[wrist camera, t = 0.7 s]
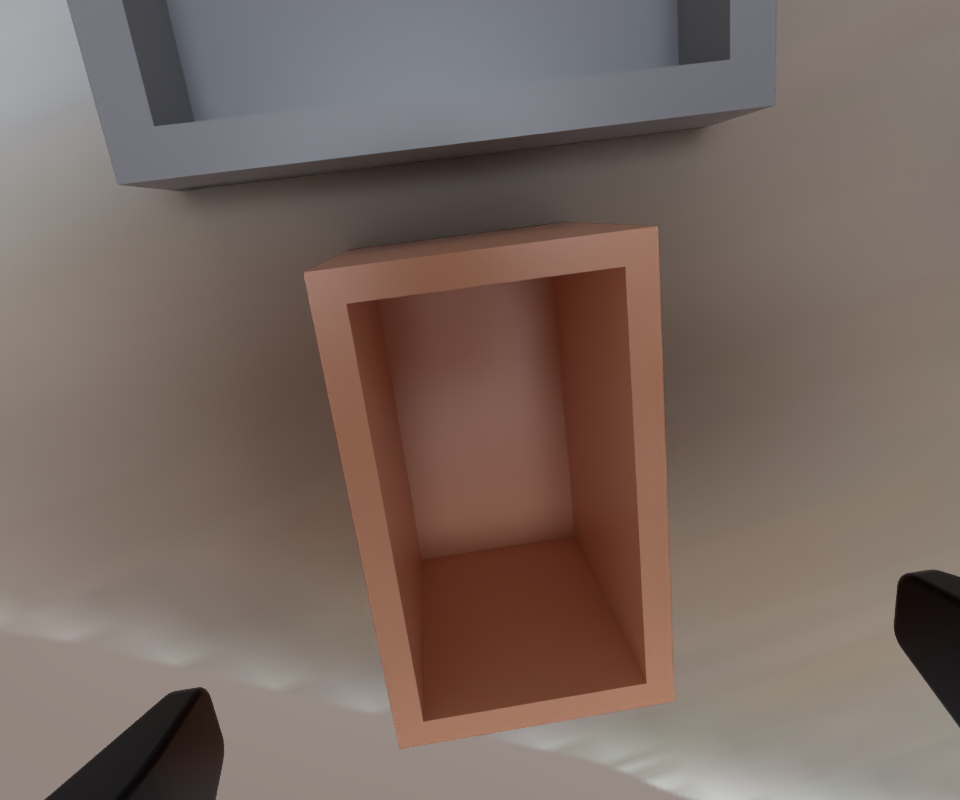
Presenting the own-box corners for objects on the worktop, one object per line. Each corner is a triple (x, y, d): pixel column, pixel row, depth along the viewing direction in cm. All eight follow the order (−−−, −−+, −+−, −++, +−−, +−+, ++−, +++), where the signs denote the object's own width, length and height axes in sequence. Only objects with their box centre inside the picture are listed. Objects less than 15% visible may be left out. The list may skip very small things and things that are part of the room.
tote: (565, 221, 17) (657, 226, 11) (589, 540, 20) (674, 701, 14) (348, 249, 17) (303, 272, 10) (405, 569, 20) (399, 749, 13)
